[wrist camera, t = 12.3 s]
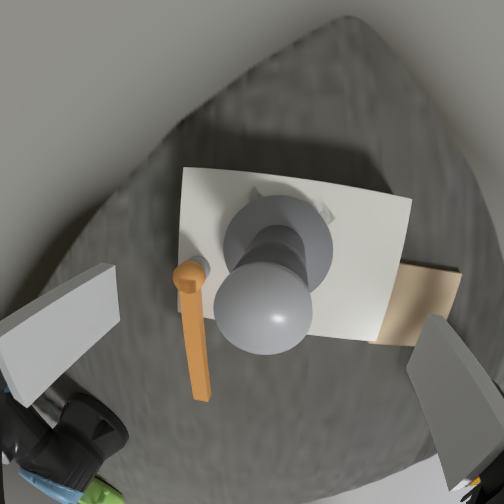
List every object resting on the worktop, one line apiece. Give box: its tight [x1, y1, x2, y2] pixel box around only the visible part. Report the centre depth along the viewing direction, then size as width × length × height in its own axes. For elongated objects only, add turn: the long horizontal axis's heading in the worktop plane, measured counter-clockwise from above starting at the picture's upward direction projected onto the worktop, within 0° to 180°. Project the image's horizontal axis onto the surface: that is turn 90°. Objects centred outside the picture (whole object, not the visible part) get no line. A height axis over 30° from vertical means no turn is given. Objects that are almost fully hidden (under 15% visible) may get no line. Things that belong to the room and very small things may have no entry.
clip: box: [173, 260, 211, 402], centre depth 25 cm, size 15×3×1 cm, turn 0°
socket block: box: [178, 167, 412, 341], centre depth 26 cm, size 20×14×6 cm
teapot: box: [78, 477, 124, 504], centre depth 54 cm, size 19×20×14 cm
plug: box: [213, 195, 333, 355], centre depth 21 cm, size 9×9×17 cm
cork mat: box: [367, 263, 462, 346], centre depth 28 cm, size 10×10×1 cm
